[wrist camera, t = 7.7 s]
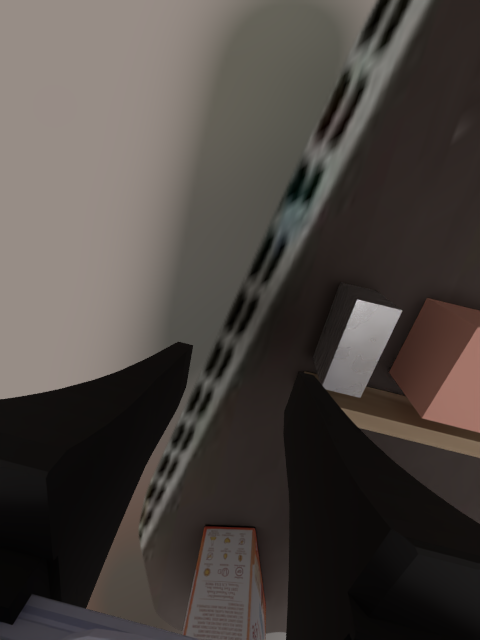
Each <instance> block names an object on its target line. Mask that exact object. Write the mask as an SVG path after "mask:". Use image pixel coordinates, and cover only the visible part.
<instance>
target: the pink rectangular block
mask: <svg viewBox="0 0 480 640" xmlns="http://www.w3.org/2000/svg"><path fill="white" fill-rule="evenodd" d="M389 373H390V375H391V376H392V377H393V379H394V380H395V381H396V383H397V384H398V386H399V387H400V388H401V390H402V391H403V393H404V394H405V395H406V397H407V398H408V400H409V401H410V402H411V404H412V405H413V407H414V408H415V409H416V411H417V412H418V414H419V415H420V416H421V418H423V419H427V420H431V421H435V422H439V423H443V424H447V425H451V426H455V427H459V428H463V429H467V430H471V431H475V432H479V433H480V311H479V310H475V309H471V308H467V307H462V306H458V305H454V304H450V303H446V302H442V301H438V300H433V299H429V298H427V299H426V301H425V303H424V305H423V307H422V309H421V311H420V313H419V315H418V317H417V319H416V320H415V322H414V324H413V326H412V328H411V330H410V332H409V334H408V336H407V338H406V340H405V342H404V344H403V346H402V348H401V350H400V352H399V354H398V356H397V358H396V360H395V362H394V364H393V365H392V367H391V369H390V371H389Z"/></svg>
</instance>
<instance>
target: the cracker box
mask: <svg viewBox="0 0 480 640" xmlns="http://www.w3.org/2000/svg"><path fill="white" fill-rule="evenodd" d="M265 632H266V603H265V597H264V590H263V582H262V575H261V567H260V560H259V552H258V545H257V538H256V531H255V528H241V527H214V526H205V527H204V531H203V536H202V541H201V546H200V551H199V556H198V561H197V565H196V570H195V575H194V580H193V585H192V589H191V594H190V599H189V604H188V609H187V614H186V619H185V623H184V628H183V633H182V635H185V636H189V637H193V638H196V639H200V640H265Z"/></svg>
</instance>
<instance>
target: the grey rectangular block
mask: <svg viewBox="0 0 480 640" xmlns="http://www.w3.org/2000/svg"><path fill="white" fill-rule="evenodd" d="M401 312H402V310H401V309H400V308H399V307H397V306H396V305H395V304H394V303H392V302H391V301H390V300H388V299H387V298H386V297H384V296H383V295H382V294H380V293H379V292H378V291H376V290H371V289H367V288H363V287H359V286H355V285H350V284H346V283H342V282H340V285H339V288H338V290H337V293H336V296H335V298H334V301H333V304H332V307H331V309H330V312H329V315H328V317H327V320H326V323H325V326H324V328H323V331H322V334H321V336H320V339H319V342H318V344H317V347H316V350H315V353H314V355H313V360H314V364H315V368H316V371H317V375H318V378H319V382H320V383H321V384H322V385H323V387H324V388H325V389H326V390H330V391H334V392H338V393H342V394H346V395H350V396H354V397H358V398H361V396H362V394H363V391H364V389H365V387H366V385H367V383H368V381H369V379H370V377H371V375H372V373H373V371H374V369H375V366H376V364H377V362H378V360H379V358H380V356H381V354H382V352H383V350H384V348H385V346H386V344H387V341H388V339H389V337H390V335H391V333H392V331H393V329H394V327H395V325H396V323H397V321H398V319H399V317H400V314H401Z"/></svg>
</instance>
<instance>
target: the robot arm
mask: <svg viewBox="0 0 480 640" xmlns="http://www.w3.org/2000/svg"><path fill="white" fill-rule="evenodd" d="M192 349H193V345H189V344H185V343H181V342H177V343H175V344H173V345H171V346H170V347H168V348H166V349H164V350H162V351H160V352H158V353H157V354H155V355H153V356H151V357H149V358H147V359H145V360H143V361H140V362H138V363H136V364H134V365H132V366H129V367H127V368H125V369H123V370H121V371H118V372H115V373H113V374H110V375H107V376H104V377H101V378H98V379H95V380H92V381H88V382H84V383H81V384H77V385H73V386H70V387H66V388H62V389H58V390H53V391H49V392H43V393H38V394H33V395H27V396H22V397H15V398H8V399H0V640H200V639H196V638H193V637H189V636H185V635H182V634H178V633H174V632H170V631H167V630H163V629H159V628H155V627H152V626H148V625H145V624H141V623H137V622H133V621H130V620H126V619H122V618H119V617H115V616H111V615H108V614H104V613H100V612H96V611H93V610H89V609H86V607H87V605H88V602H89V600H90V597H91V594H92V592H93V590H94V587H95V584H96V582H97V580H98V577H99V575H100V572H101V570H102V567H103V565H104V562H105V560H106V557H107V555H108V552H109V550H110V548H111V545H112V543H113V540H114V538H115V536H116V533H117V531H118V528H119V526H120V523H121V521H122V519H123V517H124V514H125V512H126V509H127V507H128V505H129V502H130V500H131V498H132V495H133V493H134V490H135V489H136V486H137V484H138V482H139V480H140V477H141V475H142V473H143V471H144V468H145V466H146V464H147V462H148V460H149V458H150V456H151V455H152V453H153V451H154V449H155V447H156V445H157V444H158V442H159V440H160V439H161V437H162V435H163V433H164V431H165V430H166V428H167V426H168V424H169V422H170V420H171V419H172V417H173V415H174V413H175V412H176V410H177V408H178V406H179V403H180V400H181V398H182V396H183V393H184V390H185V388H186V384H187V378H188V372H189V366H190V360H191V354H192ZM284 445H285V456H286V467H287V477H288V488H289V503H290V537H289V582H288V612H287V632H286V640H480V524H479V523H477V522H476V521H474V520H473V519H471V518H469V517H468V516H466V515H465V514H463V513H462V512H460V511H459V510H457V509H456V508H454V507H453V506H452V505H450V504H449V503H447V502H446V501H445V500H443V499H442V498H440V497H439V496H438V495H436V494H435V493H433V492H432V491H431V490H429V489H428V488H427V487H425V486H424V485H423V484H421V483H420V482H419V481H417V480H416V479H415V478H414V477H412V476H411V475H410V474H409V473H407V472H406V471H405V470H404V469H403V468H401V467H400V466H399V465H398V464H396V463H395V462H394V461H393V460H392V459H391V458H389V457H388V456H387V455H386V454H385V453H384V452H383V451H382V450H381V449H380V448H378V447H377V446H376V445H375V444H374V443H373V442H372V441H371V440H370V439H369V438H368V437H367V436H366V435H365V434H364V433H363V432H362V431H361V430H360V429H359V428H358V427H357V426H356V425H355V424H354V422H353V421H352V420H351V419H350V418H349V417H348V416H347V415H346V414H345V412H344V411H343V410H342V409H341V408H340V407H339V405H338V404H337V403H336V402H335V400H334V399H333V398H332V397H331V396H330V394H329V393H328V392H327V391H326V389H325V388H324V387H323V385H322V384H321V383H320V382H319V381H318V379H317V378H316V377H315V376H314V375H311V374H307V373H303V372H298V375H297V378H296V381H295V383H294V386H293V389H292V392H291V395H290V397H289V400H288V403H287V406H286V409H285V412H284Z"/></svg>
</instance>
